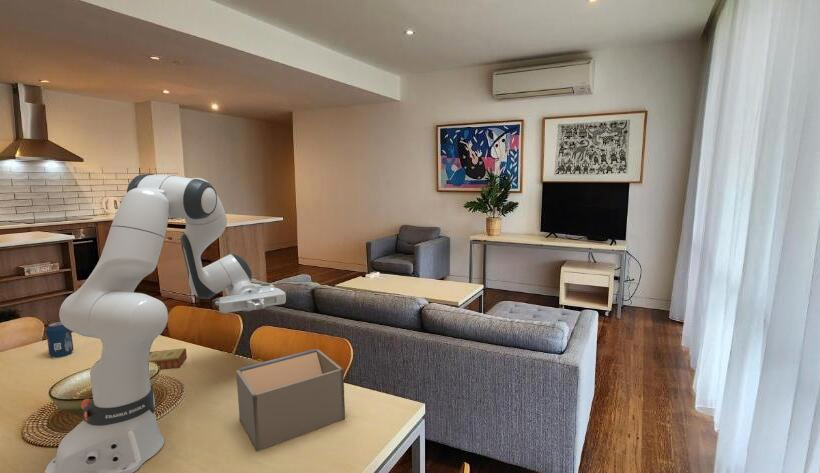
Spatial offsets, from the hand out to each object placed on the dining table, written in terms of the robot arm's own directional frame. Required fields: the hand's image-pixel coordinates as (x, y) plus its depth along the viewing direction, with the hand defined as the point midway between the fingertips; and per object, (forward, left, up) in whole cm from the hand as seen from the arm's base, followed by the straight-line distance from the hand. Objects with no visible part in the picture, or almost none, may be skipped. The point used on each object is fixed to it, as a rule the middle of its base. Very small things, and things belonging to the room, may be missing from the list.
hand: (259, 306), depth 129 cm
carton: (-26, +35, -26) cm, 51 cm away
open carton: (0, -25, -25) cm, 35 cm away
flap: (0, -25, -22) cm, 33 cm away
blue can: (-54, +67, -25) cm, 90 cm away
